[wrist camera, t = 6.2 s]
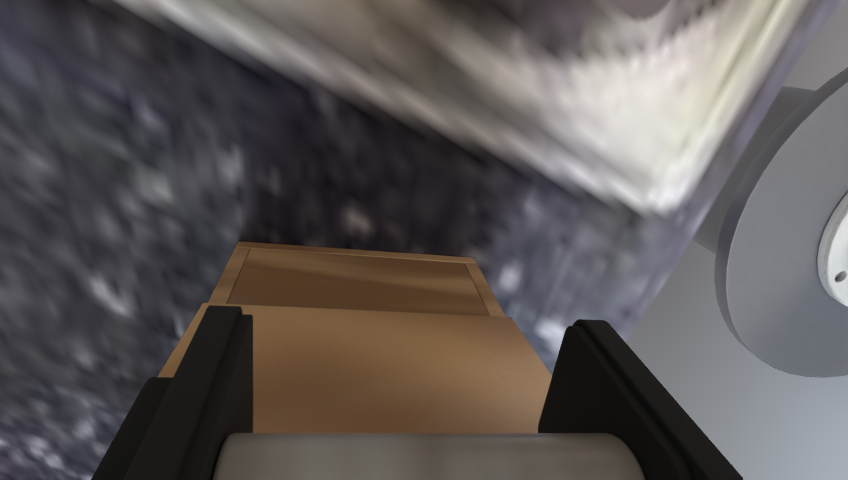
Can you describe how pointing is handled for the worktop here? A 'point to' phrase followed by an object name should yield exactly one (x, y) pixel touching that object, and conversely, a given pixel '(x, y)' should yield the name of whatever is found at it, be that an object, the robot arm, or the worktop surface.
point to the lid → (401, 402)
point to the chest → (354, 280)
